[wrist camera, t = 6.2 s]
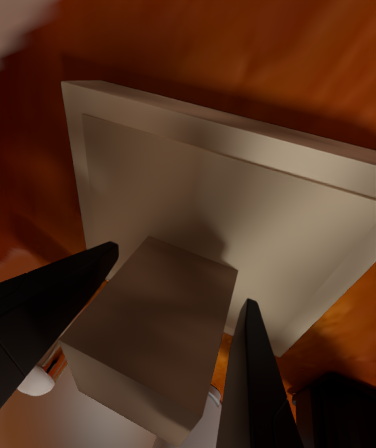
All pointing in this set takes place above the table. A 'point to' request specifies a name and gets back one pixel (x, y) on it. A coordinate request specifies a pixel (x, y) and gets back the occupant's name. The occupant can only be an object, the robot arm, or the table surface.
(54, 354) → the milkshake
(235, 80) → the table surface
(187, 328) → the walnut block
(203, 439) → the grey ridged slab
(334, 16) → the table surface
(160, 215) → the base
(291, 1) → the table surface
